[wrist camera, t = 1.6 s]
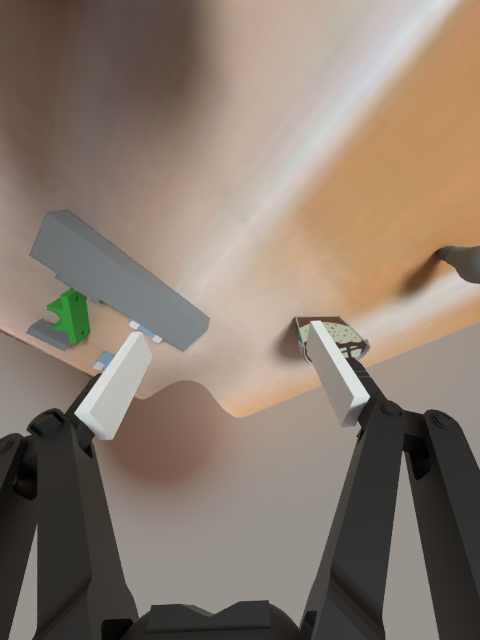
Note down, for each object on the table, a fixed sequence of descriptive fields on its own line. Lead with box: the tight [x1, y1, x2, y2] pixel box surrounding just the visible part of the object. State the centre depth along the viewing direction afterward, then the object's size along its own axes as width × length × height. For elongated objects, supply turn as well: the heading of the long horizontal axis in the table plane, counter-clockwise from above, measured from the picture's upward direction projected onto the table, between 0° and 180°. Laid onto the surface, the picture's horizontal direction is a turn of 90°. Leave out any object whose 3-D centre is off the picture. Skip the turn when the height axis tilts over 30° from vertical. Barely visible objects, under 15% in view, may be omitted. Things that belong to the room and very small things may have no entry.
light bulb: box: [438, 246, 480, 284], centre depth 30 cm, size 6×6×10 cm
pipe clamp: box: [47, 288, 90, 345], centre depth 37 cm, size 11×4×5 cm, turn 163°
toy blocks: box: [26, 210, 210, 371], centre depth 39 cm, size 28×26×4 cm
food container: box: [295, 315, 371, 367], centre depth 39 cm, size 12×6×10 cm, turn 91°
